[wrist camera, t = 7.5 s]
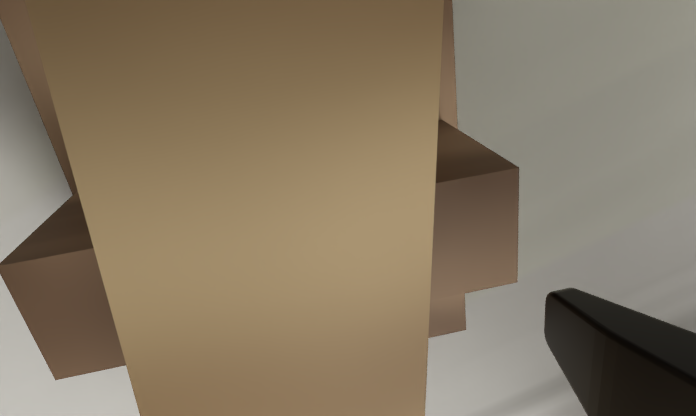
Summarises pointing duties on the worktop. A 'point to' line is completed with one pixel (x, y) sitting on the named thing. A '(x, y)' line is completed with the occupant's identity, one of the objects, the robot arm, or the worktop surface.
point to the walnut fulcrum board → (86, 281)
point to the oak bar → (256, 194)
